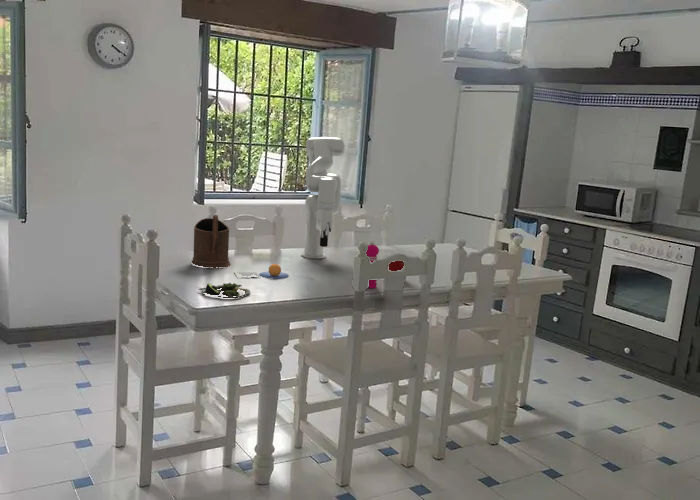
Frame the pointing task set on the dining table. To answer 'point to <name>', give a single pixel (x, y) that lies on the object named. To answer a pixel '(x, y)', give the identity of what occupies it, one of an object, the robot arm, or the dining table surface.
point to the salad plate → (225, 290)
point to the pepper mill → (372, 255)
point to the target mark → (280, 276)
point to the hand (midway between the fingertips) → (323, 246)
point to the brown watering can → (211, 243)
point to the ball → (274, 270)
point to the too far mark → (249, 274)
